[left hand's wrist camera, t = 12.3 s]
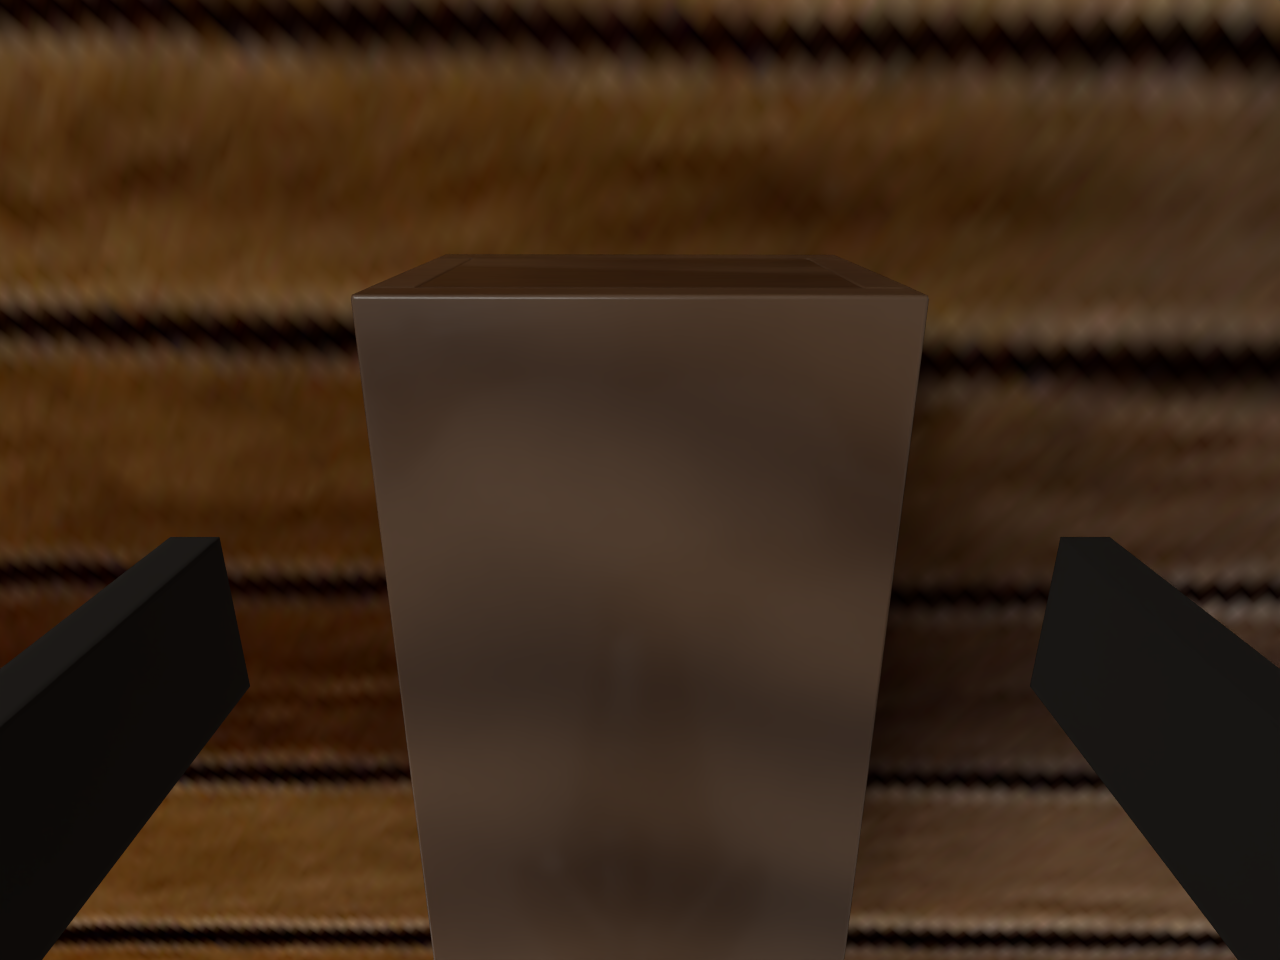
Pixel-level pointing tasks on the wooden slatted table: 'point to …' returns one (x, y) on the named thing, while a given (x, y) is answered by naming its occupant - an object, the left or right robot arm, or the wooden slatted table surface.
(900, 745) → the wooden slatted table surface
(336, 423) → the wooden slatted table surface
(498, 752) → the cabinet
